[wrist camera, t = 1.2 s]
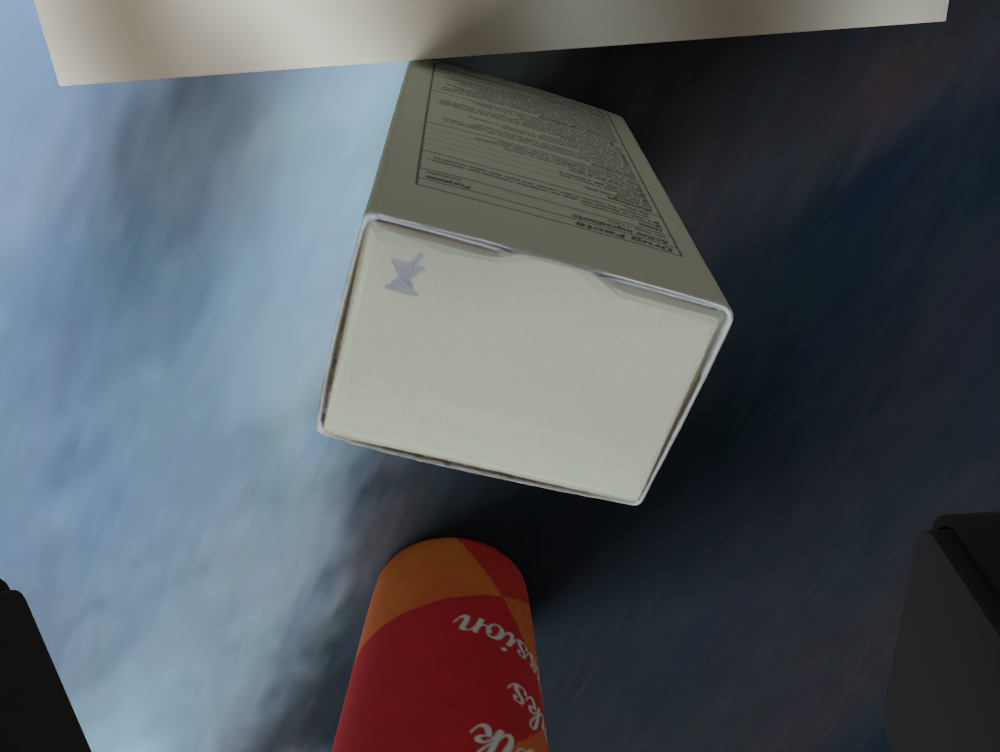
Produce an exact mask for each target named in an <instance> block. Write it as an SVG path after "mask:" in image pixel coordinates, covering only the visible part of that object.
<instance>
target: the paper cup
mask: <svg viewBox="0 0 1000 752" xmlns="http://www.w3.org/2000/svg"><path fill="white" fill-rule="evenodd" d="M332 752H549V751H548V743H547V735H546V726H545V718H544V710H543V702H542V694H541V686H540V678H539V670H538V662H537V655H536V647H535V639H534V631H533V624H532V618H531V611H530V604H529V599H528V594H527V589H526V585H525V582H524V579H523V576H522V574H521V572H520V571H519V569H518V568H517V566H516V565H515V564H514V563H513V562H512V560H511V559H510V558H508V557H507V556H506V555H505V554H504V553H502V552H501V551H499V550H498V549H496V548H494V547H492V546H490V545H488V544H486V543H483V542H480V541H477V540H473V539H469V538H463V537H436V538H430V539H426V540H422V541H419V542H417V543H414V544H412V545H410V546H408V547H406V548H404V549H402V550H401V551H399V552H398V553H397V554H395V555H394V556H393V557H392V558H391V559H390V560H389V561H388V562H387V564H386V565H385V566H384V568H383V570H382V572H381V574H380V576H379V578H378V581H377V583H376V586H375V589H374V592H373V596H372V599H371V603H370V606H369V610H368V613H367V617H366V621H365V624H364V628H363V632H362V636H361V640H360V643H359V647H358V651H357V655H356V659H355V662H354V666H353V670H352V674H351V678H350V682H349V686H348V690H347V694H346V698H345V702H344V705H343V709H342V713H341V717H340V721H339V725H338V729H337V733H336V737H335V741H334V745H333V749H332Z"/></svg>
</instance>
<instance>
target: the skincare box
mask: <svg viewBox="0 0 1000 752" xmlns="http://www.w3.org/2000/svg"><path fill="white" fill-rule="evenodd" d="M732 322H733V311H732V310H731V308H730V306H729V304H728V303H727V301H726V299H725V297H724V295H723V294H722V292H721V290H720V288H719V287H718V285H717V283H716V281H715V280H714V278H713V276H712V274H711V272H710V271H709V269H708V268H707V266H706V264H705V262H704V260H703V259H702V257H701V255H700V253H699V251H698V250H697V248H696V246H695V244H694V242H693V241H692V239H691V237H690V235H689V234H688V232H687V230H686V228H685V226H684V224H683V223H682V221H681V219H680V217H679V216H678V214H677V212H676V210H675V209H674V207H673V205H672V203H671V201H670V200H669V198H668V196H667V194H666V192H665V191H664V189H663V187H662V185H661V184H660V182H659V180H658V179H657V177H656V175H655V173H654V172H653V170H652V168H651V166H650V164H649V163H648V161H647V159H646V157H645V155H644V154H643V152H642V150H641V149H640V147H639V145H638V143H637V141H636V140H635V138H634V136H633V134H632V133H631V131H630V129H629V127H628V126H627V124H626V122H625V120H624V119H623V118H622V117H621V116H619V115H616V114H613V113H610V112H607V111H605V110H602V109H599V108H596V107H593V106H590V105H587V104H584V103H581V102H577V101H574V100H571V99H568V98H565V97H562V96H559V95H556V94H552V93H549V92H546V91H543V90H539V89H536V88H532V87H529V86H526V85H522V84H519V83H515V82H512V81H508V80H505V79H502V78H498V77H495V76H491V75H487V74H484V73H480V72H477V71H473V70H469V69H466V68H462V67H458V66H454V65H451V64H447V63H442V62H438V61H434V60H431V59H423V60H410V61H409V64H408V67H407V70H406V74H405V77H404V81H403V84H402V87H401V91H400V94H399V97H398V101H397V104H396V108H395V111H394V114H393V118H392V121H391V124H390V128H389V131H388V135H387V138H386V142H385V145H384V149H383V152H382V156H381V159H380V163H379V166H378V170H377V173H376V177H375V180H374V184H373V187H372V191H371V194H370V197H369V200H368V203H367V207H366V210H365V213H364V217H363V220H362V224H361V228H360V231H359V235H358V239H357V243H356V246H355V250H354V254H353V258H352V261H351V265H350V269H349V273H348V276H347V280H346V284H345V288H344V292H343V297H342V301H341V305H340V309H339V313H338V317H337V321H336V326H335V330H334V334H333V338H332V343H331V347H330V351H329V356H328V361H327V366H326V371H325V376H324V381H323V386H322V392H321V398H320V404H319V409H318V413H317V418H316V429H317V431H318V432H319V433H320V434H322V435H324V436H327V437H329V438H333V439H338V440H342V441H345V442H348V443H351V444H354V445H358V446H363V447H367V448H371V449H374V450H378V451H381V452H384V453H389V454H394V455H397V456H401V457H405V458H410V459H415V460H417V461H421V462H426V463H431V464H435V465H439V466H443V467H448V468H453V469H458V470H462V471H466V472H470V473H475V474H480V475H484V476H489V477H494V478H499V479H503V480H508V481H513V482H517V483H522V484H527V485H531V486H538V487H542V488H546V489H550V490H555V491H560V492H566V493H572V494H577V495H581V496H586V497H592V498H598V499H603V500H608V501H613V502H618V503H623V504H628V505H632V506H634V505H639V504H640V503H642V501H643V500H644V498H645V496H646V494H647V492H648V490H649V488H650V486H651V484H652V482H653V479H654V477H655V475H656V474H657V472H658V470H659V469H660V467H661V465H662V463H663V461H664V460H665V458H666V456H667V454H668V451H669V449H670V447H671V445H672V444H673V442H674V440H675V438H676V437H677V434H678V432H679V431H680V429H681V428H682V425H683V423H684V421H685V419H686V417H687V415H688V413H689V410H690V408H691V406H692V404H693V403H694V401H695V399H696V396H697V394H698V393H699V391H700V389H701V387H702V385H703V383H704V381H705V379H706V377H707V375H708V373H709V371H710V369H711V367H712V364H713V362H714V360H715V358H716V356H717V354H718V352H719V350H720V348H721V346H722V344H723V342H724V340H725V337H726V335H727V333H728V331H729V329H730V327H731V324H732Z"/></svg>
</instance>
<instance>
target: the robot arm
mask: <svg viewBox="0 0 1000 752" xmlns="http://www.w3.org/2000/svg"><path fill="white" fill-rule="evenodd" d="M883 718H884V727H885V732H886V736H887V740H888V742H889V745H890V747H891V750H892V752H1000V513H999V512H983V513H968V514H953V515H943V516H939V517H938V518H937V519H936V521H935V522H934V525H933V528H932V530H927V531H922V532H921V533H920V534H919V535H918V537H917V541H916V545H915V550H914V555H913V560H912V565H911V571H910V576H909V581H908V586H907V591H906V596H905V601H904V606H903V612H902V617H901V622H900V627H899V632H898V637H897V642H896V647H895V653H894V658H893V663H892V668H891V673H890V678H889V683H888V688H887V694H886V699H885V704H884V711H883ZM0 752H91V750H90V747H89V745H88V743H87V741H86V738H85V736H84V734H83V731H82V729H81V727H80V724H79V722H78V720H77V717H76V715H75V713H74V710H73V708H72V706H71V703H70V701H69V699H68V697H67V694H66V692H65V690H64V687H63V685H62V683H61V680H60V678H59V676H58V673H57V671H56V669H55V666H54V664H53V662H52V659H51V657H50V655H49V653H48V650H47V648H46V646H45V643H44V641H43V639H42V636H41V634H40V632H39V629H38V627H37V625H36V622H35V620H34V618H33V615H32V613H31V611H30V608H29V606H28V604H27V602H26V599H25V598H24V596H23V595H22V593H20V592H19V591H16V590H10V588H9V587H8V585H7V584H6V582H4V581H3V580H1V579H0Z"/></svg>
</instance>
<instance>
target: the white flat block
mask: <svg viewBox="0 0 1000 752" xmlns="http://www.w3.org/2000/svg"><path fill="white" fill-rule="evenodd" d="M34 2H35V6H36V9H37V12H38V16H39V19H40V22H41V26H42V29H43V32H44V36H45V39H46V42H47V46H48V49H49V52H50V56H51V59H52V62H53V66H54V69H55V72H56V76H57V79H58V82H59V86H69V85H83V84H96V83H110V82H124V81H137V80H151V79H164V78H178V77H192V76H205V75H219V74H233V73H246V72H260V71H273V70H287V69H301V68H314V67H328V66H342V65H355V64H369V63H382V62H396V61H410V60H423V59H437V58H451V57H464V56H478V55H491V54H505V53H519V52H532V51H546V50H560V49H573V48H587V47H600V46H614V45H628V44H641V43H655V42H669V41H682V40H696V39H709V38H723V37H737V36H750V35H764V34H778V33H791V32H805V31H818V30H832V29H846V28H859V27H873V26H887V25H900V24H914V23H927V22H941V21H946V16H947V9H948V3H949V0H34Z"/></svg>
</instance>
